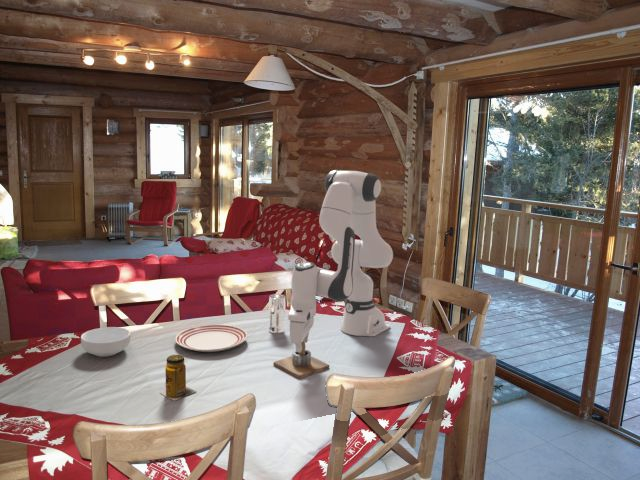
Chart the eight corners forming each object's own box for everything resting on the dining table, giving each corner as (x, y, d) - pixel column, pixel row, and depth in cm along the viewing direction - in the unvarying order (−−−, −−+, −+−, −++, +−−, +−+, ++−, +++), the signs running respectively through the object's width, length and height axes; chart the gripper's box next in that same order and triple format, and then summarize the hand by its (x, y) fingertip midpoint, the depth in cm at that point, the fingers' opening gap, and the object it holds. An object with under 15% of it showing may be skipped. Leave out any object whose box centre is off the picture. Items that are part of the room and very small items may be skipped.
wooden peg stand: (303, 355, 201) (303, 331, 199) (329, 368, 191) (330, 343, 189) (273, 365, 192) (274, 340, 190) (299, 378, 182) (300, 352, 180)
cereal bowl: (139, 353, 197) (138, 335, 196) (94, 366, 185) (93, 346, 184) (117, 340, 208) (116, 323, 207) (73, 351, 196) (72, 333, 195)
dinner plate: (160, 349, 202) (160, 340, 202) (202, 326, 227) (202, 319, 227) (223, 363, 192) (223, 354, 192) (259, 337, 217) (260, 330, 217)
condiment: (160, 393, 168) (159, 357, 166) (182, 384, 174) (182, 349, 172) (173, 401, 163) (173, 364, 161) (196, 392, 170) (196, 356, 167)
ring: (302, 358, 196) (302, 347, 195) (314, 364, 191) (314, 353, 190) (288, 362, 191) (288, 352, 191) (300, 368, 187) (300, 358, 186)
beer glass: (282, 334, 221) (283, 299, 218) (265, 332, 222) (266, 297, 219) (286, 329, 228) (287, 294, 225) (270, 327, 229) (271, 293, 226)
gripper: (301, 299, 198) (300, 335, 201) (286, 317, 178) (285, 356, 181) (318, 301, 197) (317, 337, 199) (305, 319, 177) (303, 358, 180)
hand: (302, 346), depth 190 cm, fingers open, 8 cm apart
